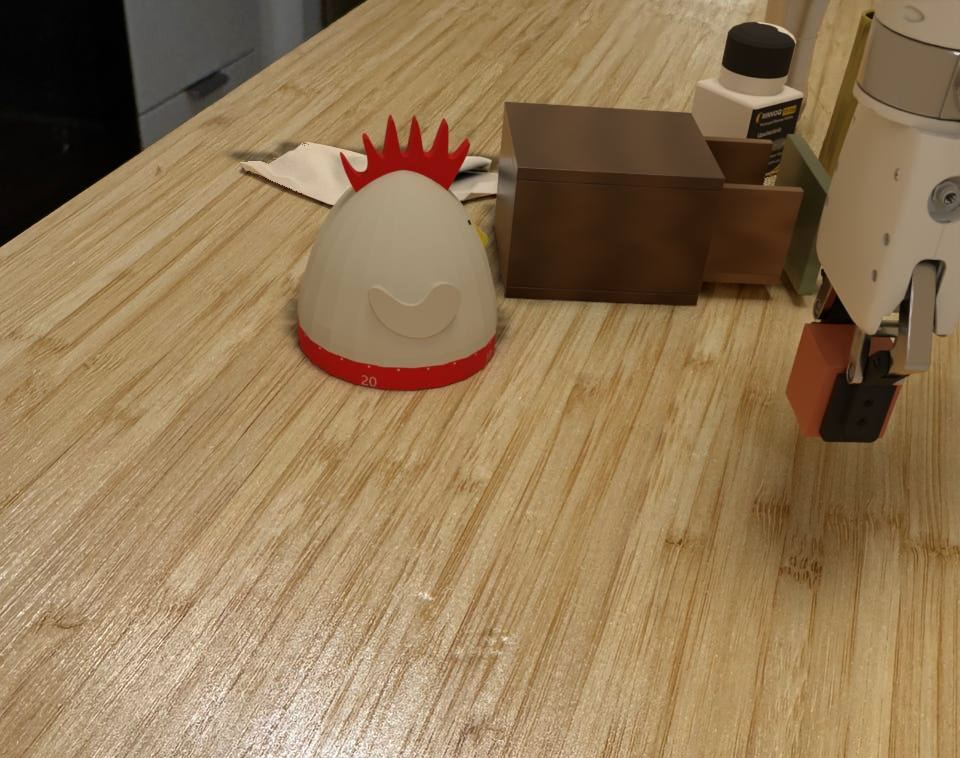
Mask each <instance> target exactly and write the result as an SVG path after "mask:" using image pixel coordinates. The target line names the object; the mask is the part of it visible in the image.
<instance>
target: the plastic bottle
mask: <svg viewBox="0 0 960 758" xmlns="http://www.w3.org/2000/svg"><path fill="white" fill-rule="evenodd" d="M766 2H767V3H766V6H765V7H766V8H765V12H764V14H765V15H764V19H763V21H764V22H763V23H769V24H773V25H777V26H780V27H782V28H784V29H786V30H787V31H788V32H790V33H791V34H792V35H793V36H794V38H795V40H796V45H795V49H794V53H793V57H792V61H791V65H790V69H789V73H788V78H787V82H786V83H785V84H784V85H785V86H788V87H790V88H793V89H795V90H798V91H800V92H802V93H803V100H802V104H801V108H800V112H799V116H798V120H797V123H799V121H800V120H801V118H802V115H803V114H804V111H805V109H806V106H807V101H808V95H809V78H810V74H811V68H812V63H813V58H814V53H815V49H816V48H815V47H816V44H817V41H818V38H819V32H820V31H821V28H822V26H823V25H822V24H823V22H824V19H825V16H826V12H827V10H828V7H829V5H830V3H831V0H767V1H766Z"/></svg>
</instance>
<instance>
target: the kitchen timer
mask: <svg viewBox="0 0 960 758" xmlns="http://www.w3.org/2000/svg"><path fill="white" fill-rule="evenodd" d="M419 124H420V123H419V121H418V119H417V117H416V115H415V114H413V115H412V118H411V122H410V129H409V135H408V140H407V145H406V148H405V150H404V151H402V150H401V147H400V141H399V135H398V131H397V126H396V123H395V121H394V118H393V115H392V114H389V115H388V117H387V122H386V129H385V135H384V141H383V145H382V149H381V151H380V152H379V151H378V150H377V149H376V147H375V146H374V144H373V142H372V141H371V139H370V137H369V136H368V135H367V133H365V132H363V133H362V135H361V137H362V143H363V147H364V151H365V155H366V156H367V168H366V170H365V171H363V172H359V171H356V170H355V169H354V168H353V167H352V166H351V164H350V163H349V162H348V160H347V158H346V157H345V156H344V154H343V153H342V152H340V157H341V161H342V164H343V167H344V170H345V173H346V175H347V177H348V179H349V181H350V183H351V185H352V186H351V187H350V188H349V189H348V190H347V191H346V192H345V193H344V194H343V195H342V196H341V197H340V198H339V199H338V201H337V202H336V203H335V204H334V205H332V207H331V209H330V210H329V212H328V213H327V215H326V217H325V218H324V220H323V222H322V224H321V226H320V228H319V231H318V233H317V235H316V237H315V238H314V239H315V240H314V241H313V245H312V246H311V249H310V254H309V257H308V259H307V263H306V266H305V270H304V273H303V277H302V280H301V284H300V288H299V293H298V299H297V307H296V308H297V311H296V315H297V335H298V340H299V347H300V349H301V351H302V352H303V353H304V354H305V356H306V357H307V359H308V360H309V361H310V362H311V363H312V364H314V365H315V366H316V367H318V368H320V369H321V370H323V371H324V372H326V373H327V374H329V375H331V376H334V377H336V378H339V379H341V380H344V381H346V382H349V383H351V384H354V385H360V386H364V387H369V388H375V389H381V390H392V391H393V390H394V391H395V390H396V391H418V390H427V389H435V388H442V387H445V386H448V385H452V384H455V383H458V382H461V381H464V380H467V379H468V378H470V377H472V376H474V375H475V374H476V373H478V372H479V371H482V370H483V369H484V368H485V366H487V364H488V363H489V362H490V360H491V359H492V358H493V357H494V354H495V347H496V341H497V332H498V331H497V329H498V320H499V319H498V301H497V300H498V299H497V296H496V289H495V286H494V285H495V284H494V280H493V276H492V272H491V267H490V264H489V260H488V259H489V258H488V256H487V251H486V250H485V249H486V246H487V243H488V242H489V238H488V236H487V235H486V234H485V232H484V231H482V230H481V228H480V227H479V226H477V224H476V223H475V222H474V221H473V219H472V218H471V216H470V214H469V212H468V211H467V209H466V207H465V206H464V204H463V203H462V202H460V201H459V199H458V198H457V197H456V196H455V195H454V193H453V192H452V191H451V190H450V189H449V188H450V186H451V184H452V182H453V181H454V179H455V177H456V175H457V173H458V172H459V170H460V168H461V166H462V164H463V162H464V160H465V158H466V156H468V153H469V151H470V148H471V143H470V141H469V139H468V137H466V138H465V139H464V140H462V142H461V143H460V144H459V146H458V147H457V148H456V149H455V150H454V152H452V153H449V144H450V143H449V142H450V141H449V138H450V137H449V135H450V130H449V124H448V122H447V120H446V118H445V117H443V118H442V120H441V121H440V123H439V126H438V128H437V130H436V131H437V132H436V134H435V138H434V140H433V143H432V146H431V147H430V149H428V151H425V150H424V145H423V138H422V133H421V128H420V125H419Z"/></svg>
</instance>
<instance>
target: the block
mask: <svg viewBox="0 0 960 758" xmlns="http://www.w3.org/2000/svg"><path fill="white" fill-rule="evenodd" d="M855 327H856V325H851V324H814V323H811V322H809V323H808V322H806V323H804V324H803V329H802V332H801V335H800V339H799V342H798V347H797V349H796V353H795V356H794V359H793V363H792V367H791V371H790V373H789V378H788V381H787V384H786V388H785V390H784V391H785V392H784V393H785V395H786V398H787V400H788V402H789V404H790V407H791V409H792V411H793V414H794V416H795V419H796V420H797V423H798V425H799V428H800V430H801V432H802V434H803V437H805V438H821V436H820V434H819V430H820V427H821V424H822V421H823V418H824V415H825V412H826V409H827V405H828V402H829V399H830V396H831V393H832V390H833V387H834V384H835V380H836V377H837V374H838V373H846V370H847V365H848V360H849V355H850V351H851V346H852V341H853V337H854V332H855ZM893 344H894V341H893V340H892V338H887V337H873V339H872V343H871V348H870V352H869V356H870V355H872V354H874V353H875V352H877V351H879V350H890V349H891V348H893ZM902 387H903V384H902V385H898V386H897V388H896V391H895V394H894V396H893V399H892V402H891V405H890V407H889V410H888V413H887V416H886V418H885V421H884V424H883V427H882V429H881V432H880V435H879V437H878V439H883V438H884V435H885V433H886V431H887V428H888V426H889V422H890V419H891V417H892V414H893V411H894V408H895V406H896V403H897V400H898V398H899V395H900V393H901V389H902Z"/></svg>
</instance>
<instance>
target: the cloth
mask: <svg viewBox="0 0 960 758" xmlns="http://www.w3.org/2000/svg"><path fill="white" fill-rule="evenodd" d="M304 142H305V143H307V144H303V142H301V144H299V145H298V146H297V147H296V148H295V149H293V150H288V151H287V152H286V153H284V154H282V155H280V156H279V157H277V158H275V159H276V160H274V161H272V162H271V163H269V164H268V163H265V162H262V161H248V162H243V161H239V164H240V165H241V167H242V169H243V168H244V169H246V170H250V171H253V172H256V173H258V174H260V175H262V176H263V177H265V178H267V179H266V180H268V179H269V180H268V181H270V180H271V181H270V182H272V181H273V182H272V183H275V182H276V183H275V184H277V183H278V184H277V185H279V184H280V185H279V186H282V185H283V186H282V187H284V186H285V187H284V188H286V187H287V188H286V189H289V188H290V189H289V190H291V189H292V190H291V191H294V192H296V191H297V192H296V193H299V194H301V193H302V195H304V196H307V197H309V198H312V199H315V200H317V201H319V202H323V203H325V204H327V205H332V206H334V204H335V203H336V202H337V201H338V199H339V198H340V197H341V196H342V195H343V194H344V193H345V192H346V191H347V190H348V189H349V188H350V187H351V186H352V185H351V183H350V181H349V179H348V177H347V175H346V173H345V170H344V167H343V164H342V161H341V157H340V152H342V153H343V154H344V156H345V157H346V158H347V160H348V162H349V163H350V164H351V166H352V167H353V168H354V169H355V170H356V171H359V172H363V171H365V170H366V168H367V156H366V154H362V153H358V152H355V151H352V150H348V149H343V148H339V147H335V146H331V145H325V144H320V143H316V142H310V141H304ZM302 144H303V145H302ZM308 144H309V145H308ZM304 145H305V146H304ZM492 161H493V160H492V159H490V158H487V157H483V156H476V155H472V156H471V155H467V156H466V158H465V160H464V162H463V164H462V166H461V168H460V170H459V172H458V173H457V175H456V177H455V179H454V181H453V182H452V184H451V186H450V188H449V189H450V190H451V191H452V192H453V193H454V195H455V196H456V197H457V198H458V199H459V201H460V202H461V203H462V202H465V201H470V200H473V199H476V198H481V197H486V196H487V197H488V196H491V195H497V184H498V173H497V172H487V171H490V168H491V164H492ZM244 169H243V170H244ZM263 177H262V178H263ZM265 178H264V179H265Z"/></svg>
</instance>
